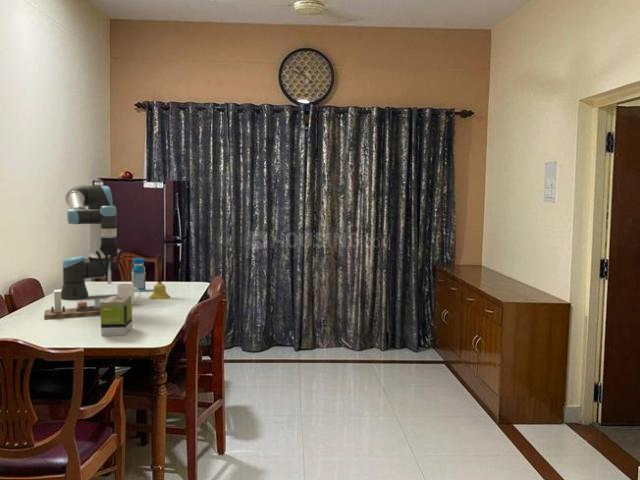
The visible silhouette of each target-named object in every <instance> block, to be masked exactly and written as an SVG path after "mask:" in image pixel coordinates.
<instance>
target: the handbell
mask: <svg viewBox="0 0 640 480" xmlns="http://www.w3.org/2000/svg"><path fill="white" fill-rule="evenodd" d="M155 264H156V269H157V283H156V284H155V285H154V286H153V292H152V294H151V295H150V296H149V297H148V299H150V300H154V299H161V300H168V298H169V299H171V298H170V297H171V295H169V294H168V293H167V289H166V287H167V286H166V285H165V284H163V282H162V271H163V270H162V269H163V257H162V255H161V254H157V257H156V263H155Z"/></svg>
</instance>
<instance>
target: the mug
mask: <svg viewBox="0 0 640 480" xmlns="http://www.w3.org/2000/svg"><path fill="white" fill-rule="evenodd" d="M116 286H117V291H116V292H117V293H116V295H117V296H131V301H132V305H134V304H135V302H138V301H139V300H140V298H141V291H139V290H138V289H137V288H135V287H134V284H132V283H119V284H117V285H116ZM134 290H135V291H134ZM135 292H138V293H139V294H138V295H139V296H138V298H136V297H135Z"/></svg>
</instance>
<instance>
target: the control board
mask: <svg viewBox="0 0 640 480" xmlns="http://www.w3.org/2000/svg"><path fill="white" fill-rule="evenodd" d="M93 307H95V305H87V306H76V307H73V308H66V307H65V306H64V305H62V308H61V310H56V311H55V306H51V307H50V309H45V310H44V317H43V318H44V320H54V319H55V320H56V319H57V320H58V319H70V318H85V317H86V318H87V317H101V311H100V308H93Z"/></svg>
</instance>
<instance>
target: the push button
mask: <svg viewBox="0 0 640 480" xmlns="http://www.w3.org/2000/svg"><path fill="white" fill-rule="evenodd" d="M78 306H88V302H87V301H79V302H78V301H77V306H76V307H78Z"/></svg>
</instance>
